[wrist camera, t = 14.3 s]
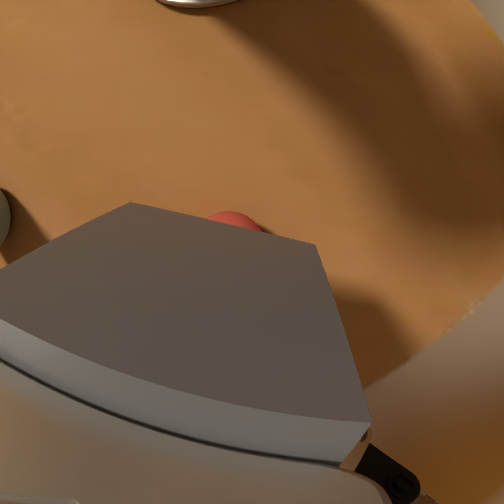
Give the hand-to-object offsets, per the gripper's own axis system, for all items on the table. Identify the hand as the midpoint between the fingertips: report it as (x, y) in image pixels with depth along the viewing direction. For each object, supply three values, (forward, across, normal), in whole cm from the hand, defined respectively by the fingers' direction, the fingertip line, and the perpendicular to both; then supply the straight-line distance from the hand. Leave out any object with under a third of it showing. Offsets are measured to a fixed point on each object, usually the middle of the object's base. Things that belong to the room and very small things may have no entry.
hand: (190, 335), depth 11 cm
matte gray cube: (+2, 0, 0) cm, 2 cm away
